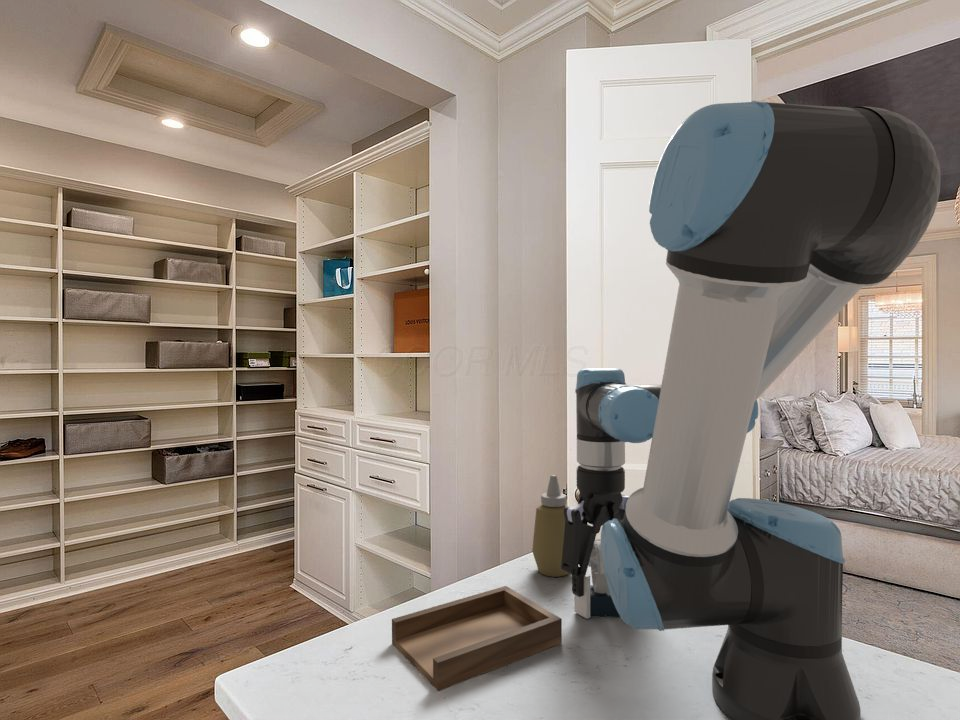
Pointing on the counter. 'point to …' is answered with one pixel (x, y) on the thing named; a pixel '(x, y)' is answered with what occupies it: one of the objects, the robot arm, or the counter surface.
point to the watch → (600, 586)
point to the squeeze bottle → (550, 531)
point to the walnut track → (474, 635)
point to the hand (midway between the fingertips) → (600, 607)
